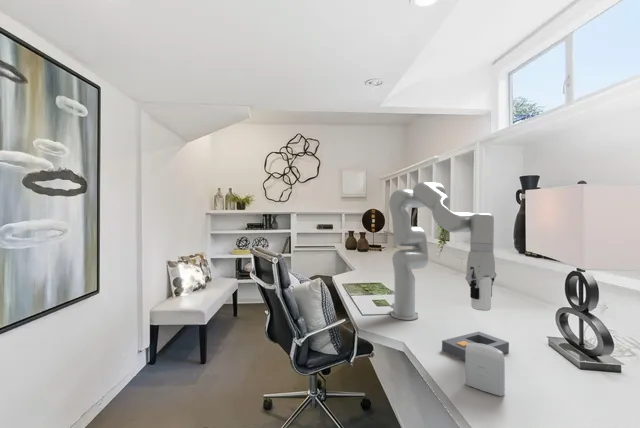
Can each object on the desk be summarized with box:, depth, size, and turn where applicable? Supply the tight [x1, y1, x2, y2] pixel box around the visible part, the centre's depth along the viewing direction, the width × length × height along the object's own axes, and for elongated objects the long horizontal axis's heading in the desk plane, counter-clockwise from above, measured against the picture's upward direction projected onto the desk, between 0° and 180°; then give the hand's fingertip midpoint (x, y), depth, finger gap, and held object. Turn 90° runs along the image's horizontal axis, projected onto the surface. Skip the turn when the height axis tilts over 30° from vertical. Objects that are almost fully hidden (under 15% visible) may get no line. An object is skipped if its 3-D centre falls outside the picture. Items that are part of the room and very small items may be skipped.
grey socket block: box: [441, 331, 510, 362], centre depth 120 cm, size 12×20×4 cm, turn 118°
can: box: [470, 276, 492, 312], centre depth 121 cm, size 6×6×12 cm
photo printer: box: [464, 343, 506, 397], centre depth 95 cm, size 10×4×12 cm, turn 47°
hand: (481, 296), depth 121 cm, fingers closed on can, 6 cm apart
